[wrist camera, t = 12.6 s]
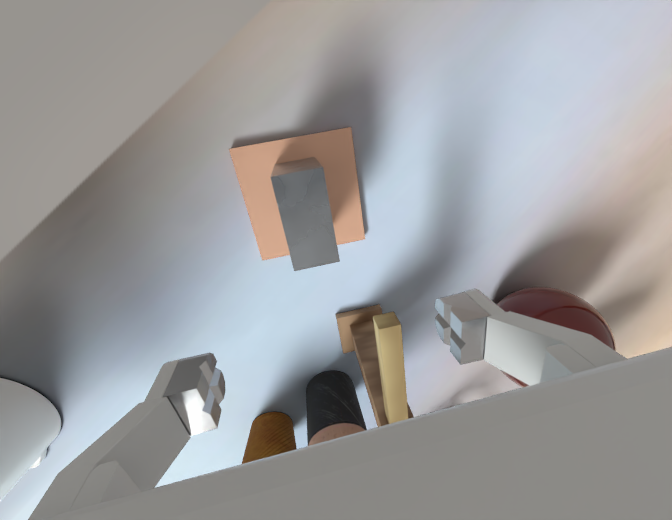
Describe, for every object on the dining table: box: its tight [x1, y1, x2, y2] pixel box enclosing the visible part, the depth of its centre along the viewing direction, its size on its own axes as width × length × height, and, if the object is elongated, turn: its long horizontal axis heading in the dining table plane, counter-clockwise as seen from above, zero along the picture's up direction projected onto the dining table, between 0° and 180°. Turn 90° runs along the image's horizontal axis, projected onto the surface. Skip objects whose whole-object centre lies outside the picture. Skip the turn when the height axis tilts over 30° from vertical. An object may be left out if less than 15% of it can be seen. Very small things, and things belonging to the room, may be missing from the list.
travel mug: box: [306, 371, 367, 446], centre depth 35 cm, size 8×8×20 cm
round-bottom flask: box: [496, 287, 616, 387], centre depth 34 cm, size 13×13×20 cm
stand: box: [336, 304, 413, 427], centre depth 31 cm, size 6×16×16 cm, turn 9°
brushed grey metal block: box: [270, 157, 340, 271], centre depth 27 cm, size 8×4×8 cm, turn 9°
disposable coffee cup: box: [242, 412, 296, 464], centre depth 40 cm, size 10×10×12 cm
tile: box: [229, 127, 365, 260], centre depth 31 cm, size 12×12×1 cm
